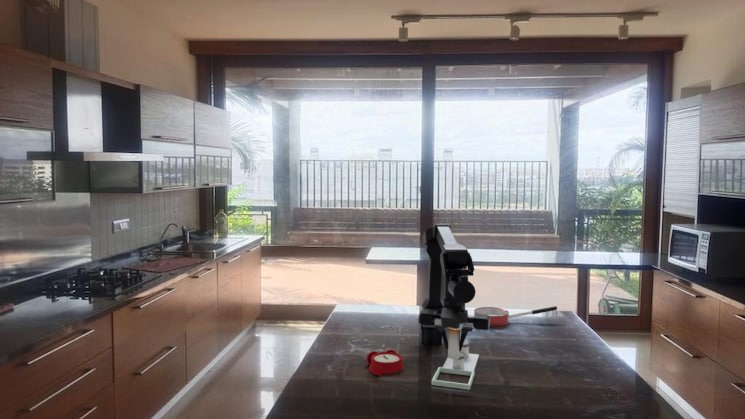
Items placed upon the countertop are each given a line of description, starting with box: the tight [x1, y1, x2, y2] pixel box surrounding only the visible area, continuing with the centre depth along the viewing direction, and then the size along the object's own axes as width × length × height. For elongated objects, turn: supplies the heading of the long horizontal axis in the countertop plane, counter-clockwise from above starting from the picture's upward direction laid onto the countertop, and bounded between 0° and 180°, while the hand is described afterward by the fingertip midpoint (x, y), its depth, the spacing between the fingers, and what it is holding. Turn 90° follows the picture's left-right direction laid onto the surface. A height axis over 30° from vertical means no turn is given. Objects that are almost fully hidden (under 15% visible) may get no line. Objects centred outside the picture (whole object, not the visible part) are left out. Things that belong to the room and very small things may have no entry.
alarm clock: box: [366, 349, 405, 377], centre depth 153 cm, size 10×6×15 cm
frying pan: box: [473, 305, 558, 328], centre depth 202 cm, size 32×13×6 cm, turn 97°
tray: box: [431, 366, 475, 394], centre depth 142 cm, size 10×10×2 cm
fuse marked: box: [447, 327, 462, 359], centre depth 142 cm, size 3×3×8 cm
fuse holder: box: [442, 341, 480, 371], centre depth 156 cm, size 9×17×5 cm, turn 162°
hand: (453, 350), depth 142 cm, fingers closed on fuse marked, 3 cm apart
